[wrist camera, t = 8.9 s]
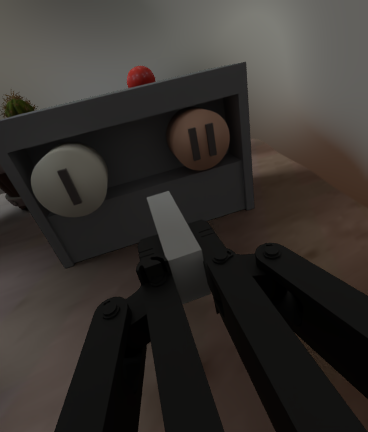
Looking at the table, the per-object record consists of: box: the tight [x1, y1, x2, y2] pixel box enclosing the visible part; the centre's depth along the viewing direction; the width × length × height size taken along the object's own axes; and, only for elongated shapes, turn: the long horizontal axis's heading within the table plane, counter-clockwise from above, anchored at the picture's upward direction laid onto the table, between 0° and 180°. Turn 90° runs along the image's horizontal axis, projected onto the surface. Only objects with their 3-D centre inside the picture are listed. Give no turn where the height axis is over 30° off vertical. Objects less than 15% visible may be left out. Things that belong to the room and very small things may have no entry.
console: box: [0, 62, 254, 268], centre depth 29 cm, size 10×24×16 cm, turn 104°
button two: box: [166, 107, 230, 171], centre depth 26 cm, size 4×6×6 cm
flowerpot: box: [0, 93, 35, 209], centre depth 45 cm, size 14×15×20 cm
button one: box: [31, 142, 108, 217], centre depth 22 cm, size 4×6×6 cm
